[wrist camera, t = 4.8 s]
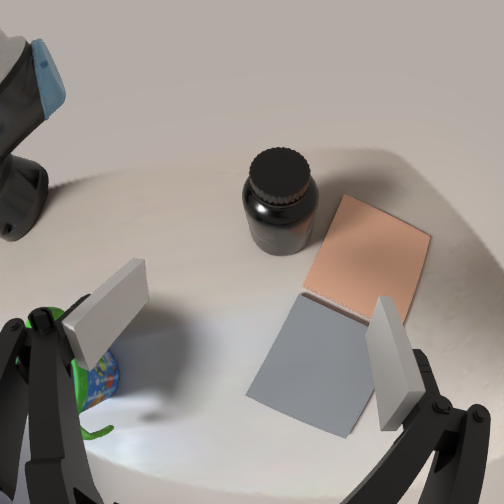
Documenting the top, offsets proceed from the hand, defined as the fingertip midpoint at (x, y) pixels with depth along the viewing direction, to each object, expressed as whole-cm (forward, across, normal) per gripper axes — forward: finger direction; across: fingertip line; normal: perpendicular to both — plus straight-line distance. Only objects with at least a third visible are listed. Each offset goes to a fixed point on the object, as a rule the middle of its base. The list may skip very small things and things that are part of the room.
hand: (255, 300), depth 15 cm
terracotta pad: (+17, +11, -4) cm, 20 cm away
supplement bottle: (+19, 0, -2) cm, 19 cm away
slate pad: (+9, +7, -14) cm, 17 cm away
